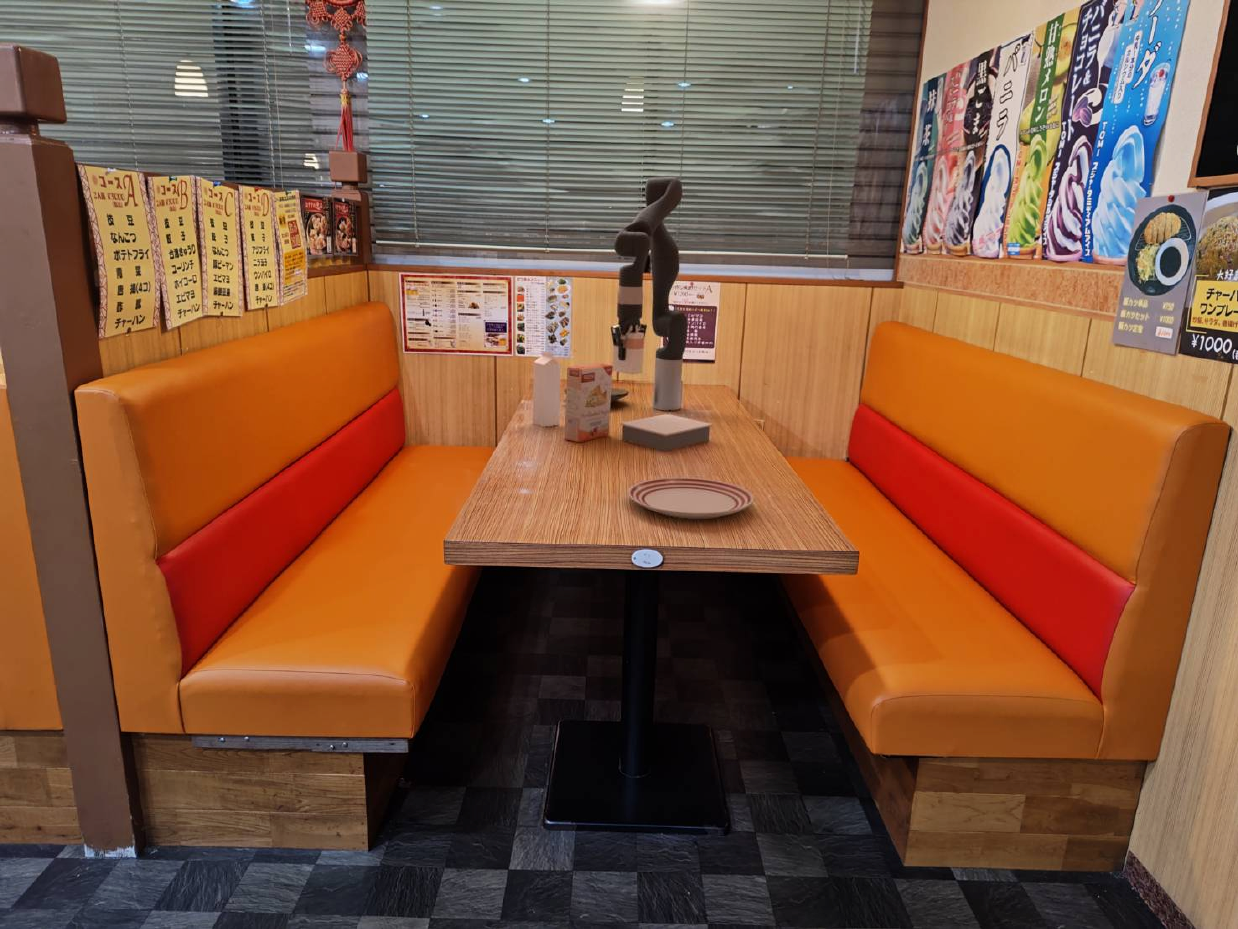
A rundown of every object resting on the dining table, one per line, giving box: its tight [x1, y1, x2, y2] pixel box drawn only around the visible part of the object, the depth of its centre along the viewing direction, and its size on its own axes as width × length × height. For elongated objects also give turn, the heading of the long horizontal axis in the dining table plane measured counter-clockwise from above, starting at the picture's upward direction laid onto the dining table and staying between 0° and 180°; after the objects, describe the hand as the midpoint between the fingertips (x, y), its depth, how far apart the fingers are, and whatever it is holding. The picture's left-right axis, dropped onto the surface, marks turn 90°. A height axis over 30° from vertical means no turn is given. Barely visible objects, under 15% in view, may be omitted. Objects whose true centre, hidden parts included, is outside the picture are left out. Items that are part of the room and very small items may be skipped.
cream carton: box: [612, 332, 645, 376], centre depth 247 cm, size 5×8×12 cm, turn 47°
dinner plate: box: [627, 476, 755, 520], centre depth 180 cm, size 28×27×3 cm
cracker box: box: [563, 362, 613, 443], centre depth 233 cm, size 14×6×21 cm, turn 143°
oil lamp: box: [564, 387, 630, 403], centre depth 287 cm, size 22×30×8 cm
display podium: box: [619, 413, 713, 452], centre depth 236 cm, size 21×17×5 cm
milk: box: [532, 350, 562, 428], centre depth 248 cm, size 6×6×22 cm
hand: (627, 359), depth 247 cm, fingers closed on cream carton, 4 cm apart
